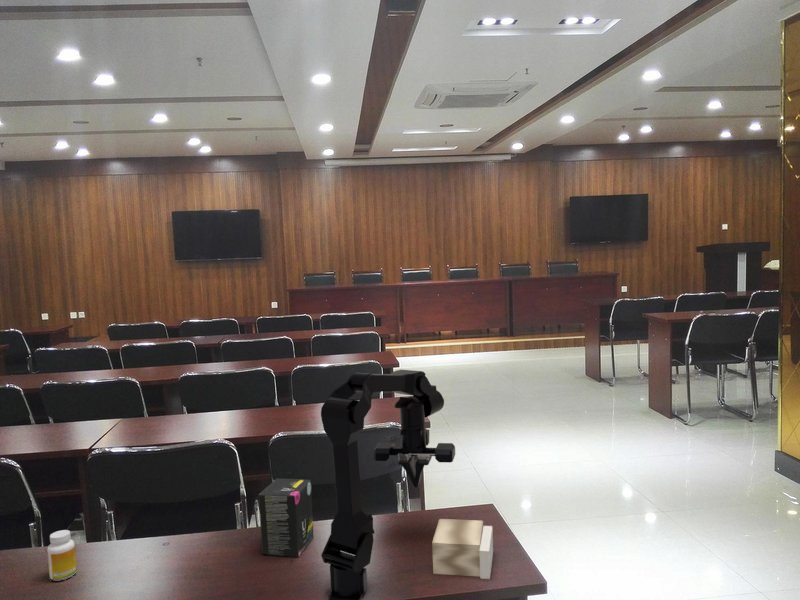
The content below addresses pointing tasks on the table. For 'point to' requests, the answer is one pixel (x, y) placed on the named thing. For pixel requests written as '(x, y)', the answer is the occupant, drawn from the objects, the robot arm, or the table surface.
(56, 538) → the supplement bottle
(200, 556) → the table surface
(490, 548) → the bar
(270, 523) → the tampon box
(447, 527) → the block
